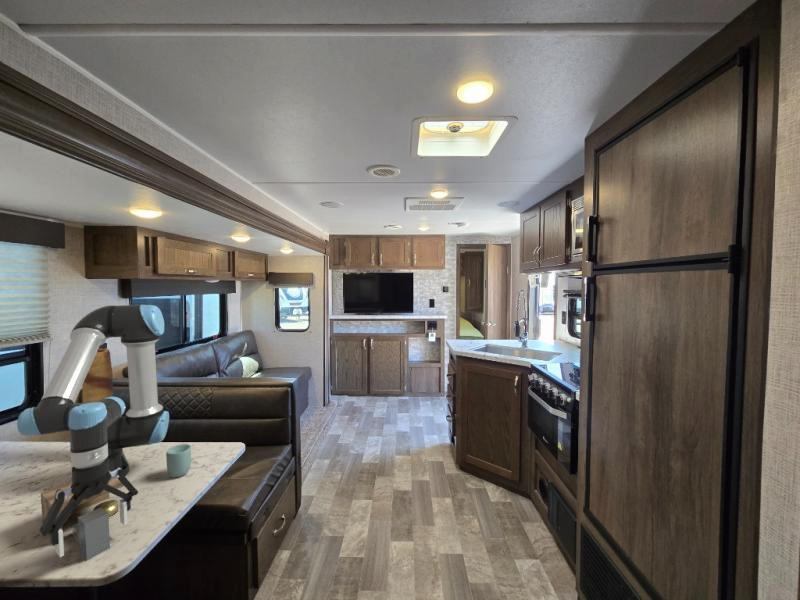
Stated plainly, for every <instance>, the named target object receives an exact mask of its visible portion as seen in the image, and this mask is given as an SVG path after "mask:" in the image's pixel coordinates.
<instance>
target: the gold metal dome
mask: <svg viewBox="0 0 800 600" xmlns="http://www.w3.org/2000/svg"><path fill="white" fill-rule="evenodd" d="M100 507H102V508H103V509H104V510H105V511H106V512H107V513H108V516H109V517H111V516H113V515H115V514H116V513H117V512H118V513H119V501H118V500H116V499H110V500H104V501H102V502H101V503H100V502H99V503H98V504H97V505H95V506H94V507H93V510H92V511H94V510H96V509H98V508H100ZM118 513H117V514H118ZM117 514H116V515H117ZM116 515H115V516H116ZM113 517H114V516H113ZM111 518H112V517H111Z"/></svg>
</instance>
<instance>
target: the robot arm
mask: <svg viewBox="0 0 800 600" xmlns="http://www.w3.org/2000/svg"><path fill="white" fill-rule="evenodd" d="M164 333H165V320H164V317H163V314H162V311H161V308H159V307H158V306H156V305H154V304H152V305H151V304H126V305H105V306H102V307H99V308H96V309H94V310H93V311H90V312H89V313H88V314H87V313H86V315H85V316H83V317H82V318H81V319H80V320H79V321H78V322H77V323H76V324H75V326H73V328H72V330H71V332H70V334H69V338H70V342H69V344H68V346H67V348H66V351H65V353H64V354H63V356H62V358H61V360H60V362H59V363H58V366H57V368H56V370H55V371H54V374H53V375H52V377H51V379H50V382H49V383H48V386H47V388H46V390H45V391H44V394H43V396H42V397H41V400H40V401H39V403H38V404H37V406H36V407H35V406H32V407H28V408H26V409H24V410H23V411H21V412H20V414H19V415H18V418H17V422H16V427H17V431H18V432H19V433H20V435H22V436H25V437H27V436H32V437H33V436H43V435H47V434H48V435H49V434H56V433H65V432H68V433H69V443H70V446H69V447H70V449H69V450H70V466H71V469H70V470H71V482H72V486H71V487H70V488H68V489H65V490H61V489H59V490H57V491H56V493H55V500H54V502H53V504H52V506H51V508H50V510H49V512H48V514H47V516H46V518H45V520H44V522H43V521H42V523H41V526H40V527H39V529H38V531H39V533H40V534H41V536H42V537H45V536H47V535H49V539H50V540H49V541H50V544H51V545H52V546H53V547H54V546H56V547H55V548H56V550H55V551H56V554H57V556H59V558H62V557H64V556H65V548H64V547H65V546H64V530H63V526H64V525H65V523H66V522H67V520H68V518H69V517H70V516H71V515H72V514H71V513H72V512H73V511H74V509H75V508H76V507H77V505H79V504H80V503H81V502H82V500H83V499H88V498H90V497H92V496H94V495H98V494H100V493H101V492H102V491H103V490H105V491H107V492H109V494H112V495H114V496H116V497H119V498H120V499H119V501H118V502H119V517H120V520H119V521H120V523H121V524H122V525H124V526H126V525H128V511H130V510H131V507H132V506H131V503H132V500H133V497H134V496H137V495H138V493H139V491H138V490H137V488H136V487H135V486H134V485H133V484H132V482H130V480H129V479H127V477H126V476H127V475H128V474H129V473H130V464H129V463H130V462H128V459H127V457H126V456H125V454H124V450H123V449H125V448H132V447H133V448H134V447H141V446H150V445H153V444H159V443H161V442H162V441H163V440H164V439H165V437H166V435H167V432H168V429H169V422H170V413H169V411H168V410H164V406H163V405H162V404H160V403H159V400H158V399H159V398H158V394H159V393H158V377H157V360H156V343H157V342H158V341H159V340H160V336H162V335H163V334H164ZM109 338H120V343H121V344H122V345H123V346H125V347H126V359H127V374H128V375H127V378H128V390H129V391H128V392H129V406H130V408H129V409H128V410H127V411H126V404H125V401H124V400H123V399H121V398H120V397H117V396H113V397H107V398H104V399H102V400H100V401H97V402H87V403H82V402H79V403H78V402H77V403H76V400H77V398H78V396H79V394H80V391H81V389H82V385H83V382H84V380H85V378H86V376H87V373H88V371H89V369H90V367H91V364H92V362H93V360H94V357H95V355H96V353H97V351H98V348H99V349H100V347H101V346H103V345H104V344H105V343H106V341H107V339H109ZM125 411H126V412H125ZM124 413H125V415H124ZM122 415H123V416H122ZM109 470H110V471H111V472H110V473H109ZM111 477H114V478H118V480H119V481H120V482H121V483H122V484H123V485H124V486H123V487H124V488H126V490H127V491H128V492H124V491H122V490H120V489H119V488H118V489H116V488H114V487H112V486H110V485H108V482H109V481H110V479H111ZM70 493H72V494H73V496H72V497H71V499H70V501H69V503H68V504H67V505H66V507H65V508H64V509H63V511H62V512H61V513H60V514H59V516H58V517H57V515H58V513H59V511H60V509H61V507H62V505H63V503H64V499H66V498H67V496H68V494H70ZM56 517H57V518H56ZM55 519H56V520H55ZM61 527H62V529H61Z"/></svg>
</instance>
